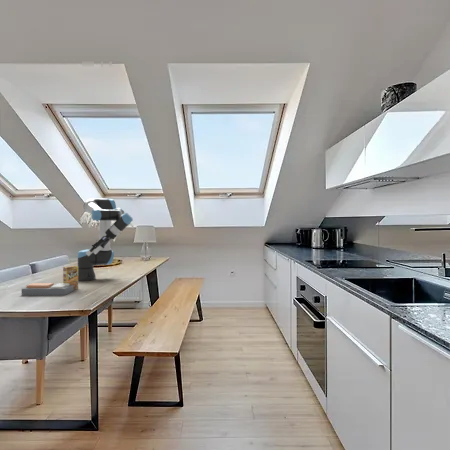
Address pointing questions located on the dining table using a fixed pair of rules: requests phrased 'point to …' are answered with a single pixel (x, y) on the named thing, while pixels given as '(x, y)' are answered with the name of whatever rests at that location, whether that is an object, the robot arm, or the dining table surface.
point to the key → (40, 285)
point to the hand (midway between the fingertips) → (90, 253)
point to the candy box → (71, 276)
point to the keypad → (49, 290)
